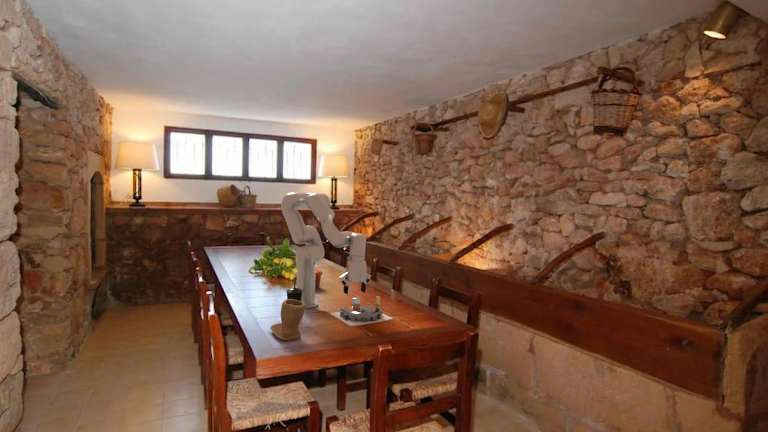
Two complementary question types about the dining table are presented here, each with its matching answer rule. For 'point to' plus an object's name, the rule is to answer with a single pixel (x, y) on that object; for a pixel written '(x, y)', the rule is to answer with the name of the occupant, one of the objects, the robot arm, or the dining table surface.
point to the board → (356, 323)
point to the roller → (355, 303)
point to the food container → (317, 278)
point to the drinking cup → (294, 292)
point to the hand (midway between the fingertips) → (354, 292)
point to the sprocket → (363, 312)
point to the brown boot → (289, 320)
